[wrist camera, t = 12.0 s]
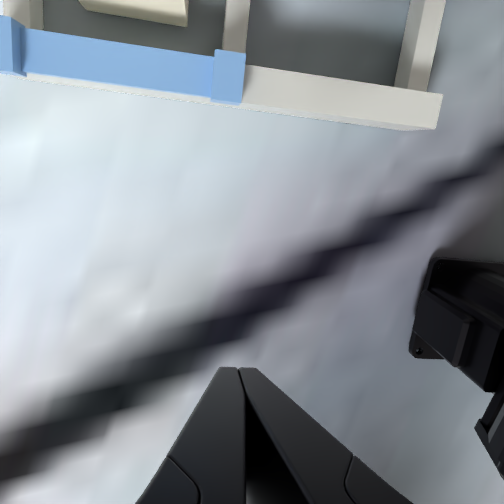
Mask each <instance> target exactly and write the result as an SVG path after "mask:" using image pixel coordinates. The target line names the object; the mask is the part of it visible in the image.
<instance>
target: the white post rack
mask: <svg viewBox="0 0 504 504" xmlns="http://www.w3.org/2000/svg"><path fill="white" fill-rule="evenodd" d="M445 3H446V0H411V1H410V6H409V11H408V16H407V21H406V26H405V32H404V37H403V42H402V47H401V52H400V57H399V62H398V68H397V73H396V78H395V83H394V87H391V86H384V85H377V84H371V83H364V82H358V81H351V80H345V79H338V78H332V77H325V76H319V75H312V74H305V73H299V72H292V71H286V70H279V69H273V68H266V67H260V66H253V65H246V64H245V61H246V54H245V49H246V39H247V29H248V19H249V9H250V0H226V5H225V17H224V29H223V40H222V50H219V49H215V53H214V57H211V56H204V55H198V54H191V53H185V52H178V51H172V50H165V49H159V48H152V47H146V46H139V45H133V44H126V43H120V42H113V41H107V40H100V39H94V38H87V37H81V36H74V35H68V34H61V33H55V32H48V31H44V23H43V0H3V14H4V16H2V15H0V74H7V75H10V76H13V77H16V78H19V79H22V80H30V81H37V82H44V83H52V84H59V85H67V86H74V87H82V88H89V89H97V90H104V91H111V92H119V93H126V94H134V95H141V96H149V97H156V98H164V99H171V100H178V101H186V102H193V103H201V104H208V105H216V106H223V107H231V108H238V109H245V110H253V111H260V112H268V113H275V114H283V115H290V116H298V117H305V118H312V119H320V120H327V121H335V122H342V123H350V124H357V125H365V126H372V127H379V128H387V129H394V130H402V131H406V130H426V129H436V124H437V120H438V115H439V111H440V107H441V102H442V98H443V94H436V93H430V92H426V91H427V86H428V81H429V77H430V72H431V67H432V63H433V58H434V54H435V49H436V44H437V40H438V35H439V30H440V26H441V21H442V16H443V12H444V7H445Z"/></svg>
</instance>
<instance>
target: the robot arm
mask: <svg viewBox="0 0 504 504" xmlns="http://www.w3.org/2000/svg"><path fill="white" fill-rule="evenodd" d="M440 263H441V266H440V268H438V269H437V265H438V264H440ZM418 348H420V349H419V350H418V351H416V350H417V349H418ZM409 352H410V353H411V354H412V355H413V356H414V357H415V358H421V359H445V360H446V361H447V362H449V363H450V364H451V365H452V366H453V367H457V368H458V369H459V370H461V371H462V372H463V373H464V374H465V375H466V376H467V377H469V378H470V379H471V380H472V381H473V382H474V383H475V384H477V385H478V386H479V387H480V388H481V389H482V390H483V391H484V392H492V393H493V394H494V396H493V398H492V399H491V401H490V403H489V405H488V407H487V409H486V411H485V413H484V415H483V417H482V419H479V420H478V422H477V424H476V426H475V427H474V429H475V431H476V432H477V434H478V436H479V438H480V439H481V441H482V443H483V445H484V446H485V448H486V450H487V452H488V453H489V455H490V457H491V459H492V460H493V462H494V464H495V466H496V467H497V469H498V471H499V474H500V476H501V477H502V478H503V480H504V262H493V261H481V260H468V259H456V258H444V257H436V258H434V259H432V260H431V261H430V264H429V267H428V271H427V275H426V279H425V284H424V288H423V292H422V293H421V296H420V300H419V304H418V308H417V312H416V317H415V321H414V325H413V333H412V337H411V341H410V345H409ZM135 504H413V503H412V502H410V501H409V500H408V499H407V498H405V497H404V496H403V495H401V494H400V493H399V492H398V491H396V490H395V489H394V488H392V487H391V486H390V485H389V484H388V483H387V482H385V481H384V480H383V479H382V478H381V477H379V476H378V475H377V474H376V473H375V472H373V471H372V470H371V469H370V468H369V467H368V466H367V465H365V464H364V463H363V462H362V461H361V460H360V459H359V458H357V457H356V456H353V453H352V452H350V451H349V450H348V449H347V448H346V447H345V446H344V445H343V444H341V443H340V442H339V441H338V440H337V439H336V438H335V437H333V436H332V435H331V434H330V433H329V432H328V431H327V430H326V429H324V428H323V427H322V426H321V425H320V424H319V423H318V422H317V421H315V420H314V419H313V418H312V417H311V416H310V415H309V414H307V413H306V412H305V411H304V410H303V409H302V408H301V407H300V406H298V405H297V404H296V403H295V402H294V401H293V400H292V399H291V398H289V397H288V396H287V395H286V394H285V393H284V392H283V391H281V390H280V389H279V388H278V387H277V386H276V385H275V384H274V383H272V382H271V381H270V380H269V379H268V378H267V377H266V376H265V375H263V374H262V373H261V372H260V371H259V370H258V369H256V368H243V367H241V368H239V369H237V368H235V367H220V368H219V369H218V370H217V372H216V374H215V375H214V377H213V379H212V380H211V382H210V384H209V385H208V387H207V389H206V390H205V392H204V394H203V395H202V397H201V399H200V400H199V402H198V404H197V406H196V407H195V409H194V411H193V412H192V414H191V416H190V417H189V419H188V421H187V422H186V424H185V426H184V427H183V429H182V431H181V432H180V434H179V436H178V437H177V439H176V441H175V442H174V444H173V446H172V447H171V449H170V451H169V453H168V454H167V456H166V458H165V459H164V461H163V462H162V464H161V466H160V467H159V469H158V471H157V472H156V474H155V475H154V477H153V478H152V480H151V482H150V483H149V485H148V486H147V488H146V489H145V491H144V492H143V494H142V495H141V496H140V498H139V499H138V500H137V502H136V503H135Z"/></svg>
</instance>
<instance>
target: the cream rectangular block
mask: <svg viewBox="0 0 504 504" xmlns="http://www.w3.org/2000/svg"><path fill="white" fill-rule="evenodd" d="M78 1H79V2H80V4H81V5H82V6H83V7H84V8H85V9H86V10H88V11H93V12H99V13H105V14H111V15H117V16H123V17H129V18H135V19H141V20H147V21H153V22H159V23H165V24H171V25H177V26H183V27H187V21H188V6H189V0H78Z"/></svg>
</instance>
